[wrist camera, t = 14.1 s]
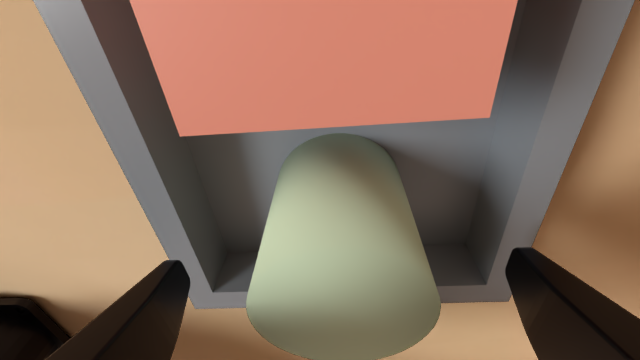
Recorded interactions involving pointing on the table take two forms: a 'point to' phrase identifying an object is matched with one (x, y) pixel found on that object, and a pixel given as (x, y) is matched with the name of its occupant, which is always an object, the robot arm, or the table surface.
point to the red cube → (324, 61)
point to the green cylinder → (341, 257)
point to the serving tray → (397, 139)
